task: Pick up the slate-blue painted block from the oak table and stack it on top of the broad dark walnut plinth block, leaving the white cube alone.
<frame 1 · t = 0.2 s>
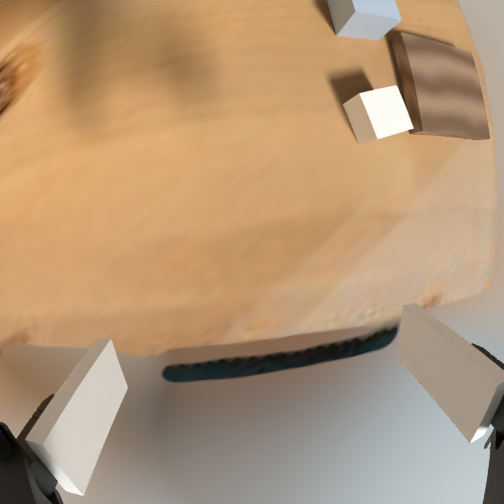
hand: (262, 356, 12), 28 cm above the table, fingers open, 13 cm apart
white cube: (368, 119, 37), on the table
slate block: (352, 20, 33), on the table
walnut block: (437, 91, 36), on the table
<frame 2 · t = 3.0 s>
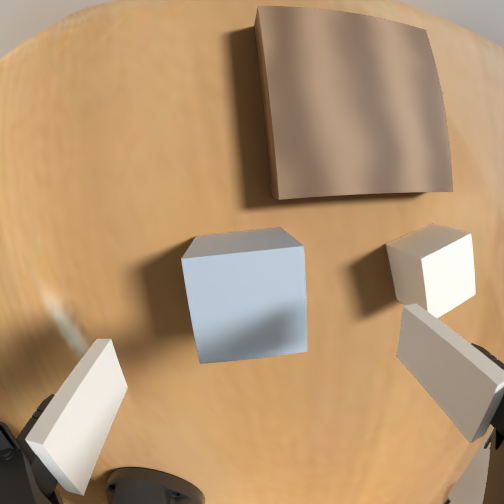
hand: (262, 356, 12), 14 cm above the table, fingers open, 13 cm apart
white cube: (414, 261, 27), on the table
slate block: (242, 272, 25), on the table
walnut block: (350, 105, 23), on the table
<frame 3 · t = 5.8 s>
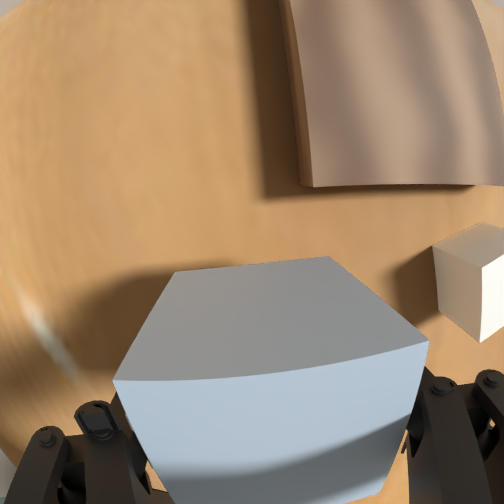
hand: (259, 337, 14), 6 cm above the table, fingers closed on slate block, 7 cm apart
white cube: (461, 266, 20), on the table
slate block: (258, 333, 14), point 6 cm above the table, touching gripper
walnut block: (392, 75, 17), on the table
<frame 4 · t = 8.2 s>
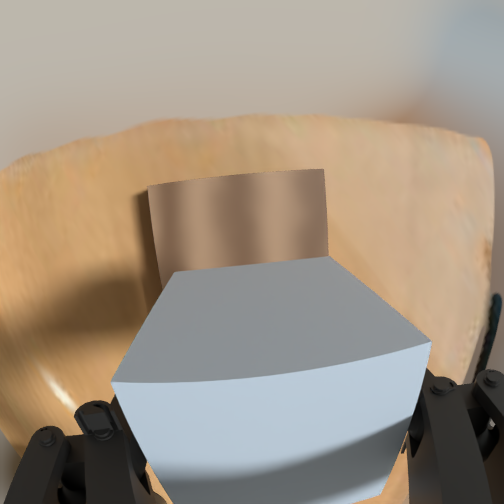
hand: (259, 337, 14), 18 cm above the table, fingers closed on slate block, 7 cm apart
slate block: (259, 334, 14), point 17 cm above the table, touching gripper
walnut block: (242, 253, 31), on the table
when the fingers open (4 cm above the table, at t = 10.5 s): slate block stays where it is, resting on walnut block.
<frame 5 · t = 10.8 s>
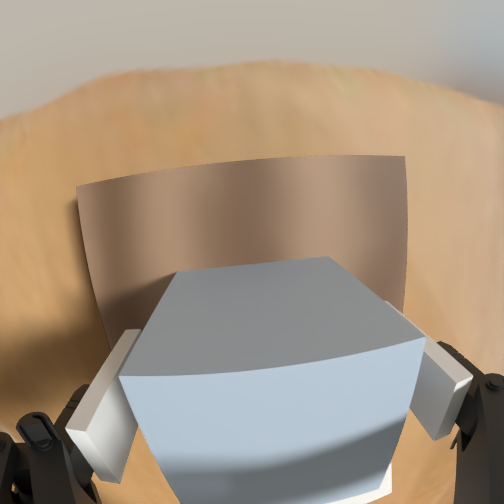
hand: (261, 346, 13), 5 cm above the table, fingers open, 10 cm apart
white cube: (336, 444, 21), on the table
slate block: (259, 332, 14), point 3 cm above the table, touching walnut block
walnut block: (252, 300, 18), on the table, touching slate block
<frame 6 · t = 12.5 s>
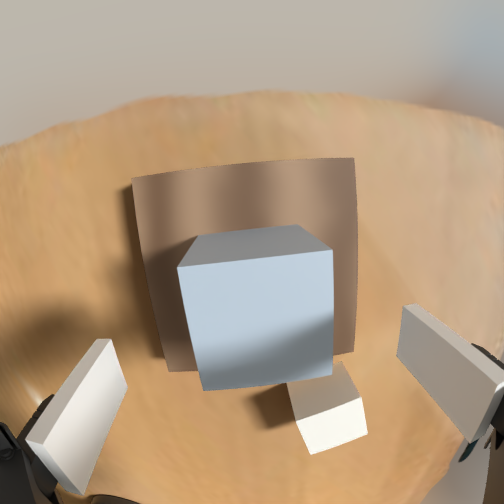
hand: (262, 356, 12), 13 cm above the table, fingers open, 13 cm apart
white cube: (320, 390, 29), on the table
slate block: (253, 277, 22), point 3 cm above the table
walnut block: (251, 260, 26), on the table
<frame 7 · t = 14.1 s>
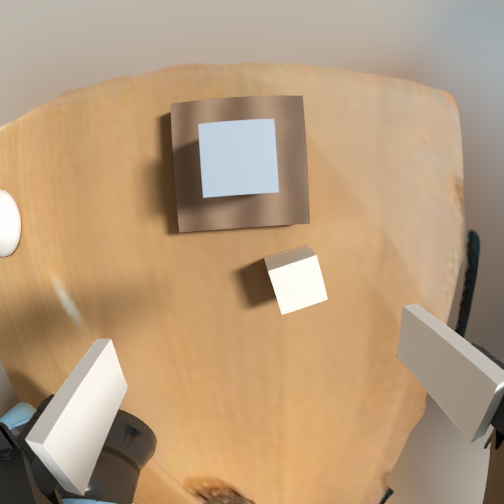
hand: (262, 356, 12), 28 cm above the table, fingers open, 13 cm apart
white cube: (290, 270, 41), on the table
flower in vase: (8, 223, 37), on the table
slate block: (238, 162, 34), point 3 cm above the table
walnut block: (240, 162, 38), on the table
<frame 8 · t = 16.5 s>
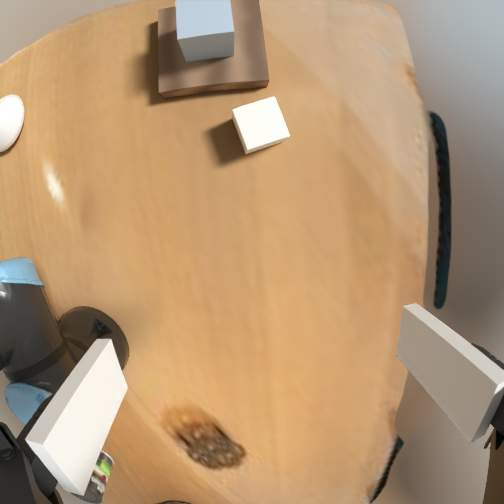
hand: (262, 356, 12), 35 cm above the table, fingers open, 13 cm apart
coffee can: (96, 455, 57), on the table
white cube: (257, 130, 43), on the table
flower in vase: (12, 124, 38), on the table
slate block: (208, 40, 36), point 3 cm above the table, touching walnut block
walnut block: (211, 49, 39), on the table, touching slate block
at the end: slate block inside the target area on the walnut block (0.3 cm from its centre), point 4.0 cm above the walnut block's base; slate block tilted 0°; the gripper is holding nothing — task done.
